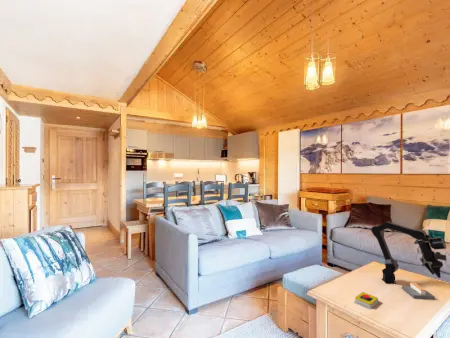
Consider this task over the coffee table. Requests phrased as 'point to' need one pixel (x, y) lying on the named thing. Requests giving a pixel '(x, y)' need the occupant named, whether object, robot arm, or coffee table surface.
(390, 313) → the coffee table surface
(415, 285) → the knob
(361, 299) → the emergency button
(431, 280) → the coffee table surface
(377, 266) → the coffee table surface
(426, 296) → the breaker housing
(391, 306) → the coffee table surface
